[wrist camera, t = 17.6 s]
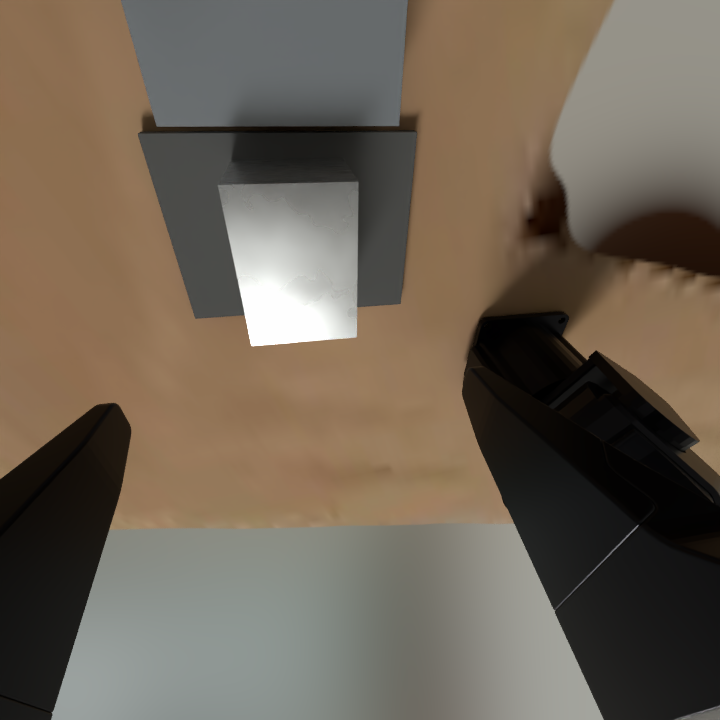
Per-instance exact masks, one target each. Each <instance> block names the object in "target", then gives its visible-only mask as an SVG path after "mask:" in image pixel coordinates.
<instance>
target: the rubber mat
mask: <svg viewBox="0 0 720 720" xmlns="http://www.w3.org/2000/svg"><path fill="white" fill-rule="evenodd" d="M138 137H139V140H140V143H141V146H142V149H143V153H144V156H145V159H146V162H147V165H148V169H149V172H150V175H151V178H152V181H153V185H154V188H155V191H156V194H157V197H158V201H159V204H160V207H161V210H162V213H163V217H164V220H165V223H166V226H167V229H168V233H169V236H170V239H171V242H172V245H173V249H174V252H175V255H176V258H177V261H178V265H179V268H180V271H181V274H182V277H183V281H184V284H185V287H186V290H187V293H188V297H189V300H190V303H191V306H192V309H193V313H194V316H195V319H197V318H211V317H225V316H239V315H245V312H244V307H243V303H242V298H241V293H240V289H239V284H238V279H237V274H236V270H235V265H234V260H233V255H232V251H231V246H230V241H229V236H228V232H227V227H226V222H225V218H224V213H223V208H222V203H221V199H220V194H219V189H218V183H219V182H220V180H221V178H222V176H223V174H224V172H225V171H226V169H227V167H228V165H229V163H230V161H231V160H247V159H315V158H343V159H344V160H345V162H346V163H347V165H348V166H349V168H350V169H351V171H352V172H353V174H354V176H355V177H356V179H357V180H358V182H359V185H358V271H357V307H365V306H379V305H393V304H401V294H402V284H403V273H404V263H405V253H406V242H407V232H408V221H409V211H410V201H411V190H412V180H413V170H414V159H415V149H416V138H417V132H416V131H414V130H395V131H167V132H140V133H138Z"/></svg>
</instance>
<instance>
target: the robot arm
mask: <svg viewBox="0 0 720 720" xmlns="http://www.w3.org/2000/svg"><path fill="white" fill-rule="evenodd" d="M568 320H569V316H568V315H567V314H566V313H564V312H548V313H536V314H523V315H510V316H498V317H486V318H483V319H482V320H481V321H480V322H479V324H478V327H477V331H476V335H475V339H474V343H473V346H472V347H471V349H470V352H469V356H468V360H467V364H466V368H465V372H464V375H465V377H464V381H463V388H462V396H463V400H464V403H465V406H466V409H467V412H468V415H469V418H470V421H471V424H472V427H473V430H474V433H475V436H476V439H477V442H478V445H479V447H480V449H481V452H482V454H483V456H484V458H485V461H486V463H487V465H488V467H489V469H490V472H491V474H492V476H493V478H494V480H495V482H496V485H497V487H498V489H499V491H500V494H501V496H502V500H503V503H504V505H505V506H506V507H507V509H508V511H509V513H510V515H511V517H512V520H513V522H514V524H515V526H516V528H517V530H518V533H519V534H520V537H521V539H522V541H523V543H524V546H525V548H526V550H527V552H528V554H529V557H530V559H531V561H532V563H533V565H534V567H535V570H536V572H537V574H538V576H539V578H540V581H541V583H542V585H543V587H544V589H545V592H546V594H547V596H548V598H549V600H550V603H551V605H552V607H553V609H554V610H556V611H555V614H556V616H557V618H558V620H559V623H560V625H561V627H562V629H563V631H564V633H565V635H566V638H567V640H568V642H569V644H570V647H571V649H572V651H573V653H574V655H575V658H576V660H577V662H578V664H579V666H580V668H581V671H582V673H583V675H584V677H585V679H586V682H587V684H588V686H589V688H590V690H591V693H592V695H593V697H594V699H595V701H596V703H597V706H598V708H599V710H600V712H601V714H602V716H603V719H604V720H720V476H719V475H718V474H717V473H716V472H715V471H714V470H713V469H712V468H711V467H710V466H709V465H708V464H706V463H705V462H704V461H703V460H702V459H701V458H700V457H699V456H698V455H697V454H695V453H694V452H693V451H692V450H691V449H690V447H692V446H693V445H695V444H696V443H698V442H699V441H700V440H699V439H698V438H697V436H696V435H695V434H694V433H693V432H692V431H691V429H690V428H689V427H688V426H687V425H686V424H685V422H684V421H683V420H682V419H681V418H680V417H679V415H678V414H677V413H676V412H675V411H674V410H673V408H672V407H671V406H670V405H669V404H668V403H667V402H666V401H665V400H664V399H662V398H661V397H660V396H659V395H658V394H656V393H655V392H654V391H653V390H652V389H650V388H649V387H648V386H647V385H646V384H644V383H643V382H642V381H641V380H640V379H638V378H637V377H636V376H634V375H633V374H631V373H630V372H628V371H627V370H625V369H624V368H622V367H621V366H619V365H618V364H616V363H615V362H613V361H612V360H610V359H609V358H607V357H606V356H604V355H603V354H601V353H600V352H598V351H597V350H596V351H595V352H594V353H593V354H591V355H590V356H589V359H588V360H586V359H585V358H584V357H583V356H582V355H581V354H580V353H579V352H578V351H577V350H576V349H575V348H574V347H573V346H572V345H571V344H570V343H569V342H568V341H567V340H566V339H565V338H564V337H563V336H562V334H563V331H564V329H565V327H566V325H567V322H568ZM486 324H488V325H487V326H485V325H486ZM484 326H485V327H484ZM130 438H131V427H130V424H129V422H128V420H127V419H126V417H125V415H124V413H123V412H122V410H121V408H120V406H119V405H118V404H116V403H107V404H99V405H96V406H94V407H93V408H92V409H90V410H89V411H88V412H86V413H85V414H84V415H83V416H81V417H80V418H79V419H77V420H76V421H75V422H74V423H72V424H71V425H70V426H68V427H67V428H66V429H65V430H63V431H62V432H61V433H59V434H58V435H57V436H56V437H54V438H53V439H52V440H50V441H49V442H48V443H46V444H45V445H44V446H43V447H41V448H40V449H39V450H37V451H36V452H35V453H34V454H32V455H31V456H30V457H28V458H27V459H26V460H25V461H23V462H22V463H21V464H19V465H18V466H17V467H15V468H14V469H13V470H12V471H10V472H9V473H8V474H6V475H5V476H4V477H3V478H1V479H0V720H51V718H52V713H51V712H53V710H54V707H55V704H56V701H57V697H58V694H59V691H60V687H61V684H62V681H63V678H64V675H65V671H66V668H67V665H68V662H69V658H70V655H71V652H72V649H73V645H74V642H75V639H76V636H77V632H78V629H79V626H80V622H81V619H82V616H83V613H84V610H85V606H86V603H87V600H88V597H89V593H90V590H91V587H92V583H93V580H94V577H95V574H96V571H97V567H98V564H99V561H100V558H101V554H102V551H103V548H104V545H105V541H106V538H107V535H108V532H109V528H110V525H111V522H112V519H113V515H114V512H115V509H116V506H117V502H118V499H119V495H120V492H121V487H122V483H123V477H124V472H125V466H126V461H127V455H128V449H129V444H130Z"/></svg>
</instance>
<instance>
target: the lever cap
mask: <svg viewBox="0 0 720 720" xmlns="http://www.w3.org/2000/svg"><path fill="white" fill-rule="evenodd" d="M358 185H359V182H358V180H357V179H356V177H355V176H354V174H353V172H352V171H351V169H350V168H349V166H348V165H347V163H346V162H345V160H344V159H343V158H315V159H247V160H231V161H230V163H229V165H228V167H227V169H226V171H225V172H224V174H223V176H222V178H221V180H220V182H219V183H218V189H219V194H220V199H221V203H222V208H223V213H224V218H225V222H226V227H227V232H228V236H229V241H230V246H231V251H232V255H233V260H234V265H235V270H236V274H237V279H238V284H239V289H240V293H241V298H242V303H243V307H244V312H245V317H246V322H247V326H248V331H249V336H250V341H251V345H252V346H256V345H269V344H281V343H293V342H305V341H317V340H329V339H341V338H353V337H357V271H358Z"/></svg>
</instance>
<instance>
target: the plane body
mask: <svg viewBox="0 0 720 720" xmlns="http://www.w3.org/2000/svg"><path fill="white" fill-rule="evenodd" d="M121 2H122V5H123V9H124V12H125V16H126V20H127V23H128V27H129V30H130V34H131V37H132V41H133V44H134V48H135V51H136V55H137V59H138V62H139V66H140V69H141V73H142V76H143V80H144V83H145V87H146V91H147V94H148V98H149V101H150V105H151V108H152V112H153V115H154V119H155V122H156V126H157V127H202V126H399V120H400V105H401V91H402V77H403V62H404V48H405V33H406V19H407V5H408V0H121Z"/></svg>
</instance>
